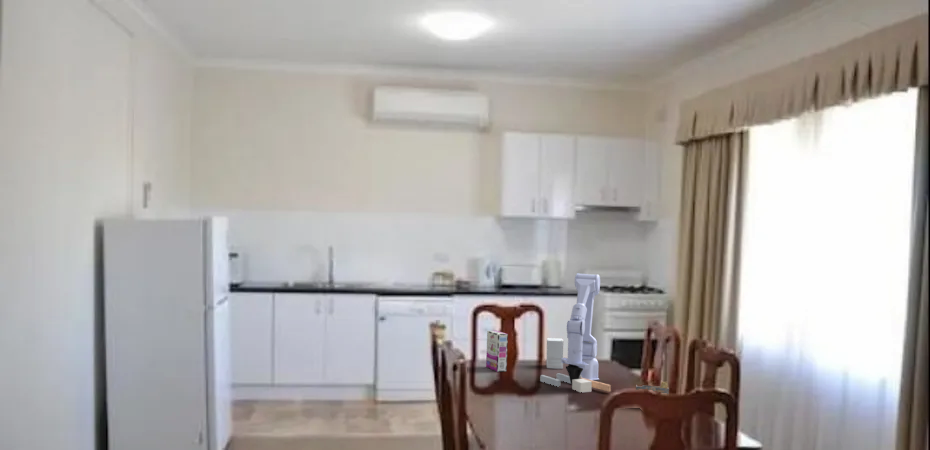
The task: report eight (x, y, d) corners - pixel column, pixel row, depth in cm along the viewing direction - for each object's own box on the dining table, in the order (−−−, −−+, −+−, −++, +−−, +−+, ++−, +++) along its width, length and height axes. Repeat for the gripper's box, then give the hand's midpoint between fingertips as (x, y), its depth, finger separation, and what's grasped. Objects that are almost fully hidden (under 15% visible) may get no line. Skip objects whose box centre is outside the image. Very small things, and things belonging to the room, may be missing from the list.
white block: (582, 388, 296) (583, 378, 296) (591, 392, 291) (591, 381, 291) (572, 389, 294) (572, 379, 294) (580, 393, 289) (581, 382, 289)
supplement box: (562, 365, 339) (563, 338, 339) (562, 369, 332) (563, 340, 332) (546, 365, 340) (546, 337, 340) (546, 368, 333) (547, 340, 332)
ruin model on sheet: (667, 407, 271) (668, 381, 271) (668, 410, 268) (669, 382, 268) (635, 405, 273) (636, 379, 273) (635, 407, 270) (636, 380, 270)
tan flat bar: (577, 384, 301) (577, 375, 301) (579, 383, 302) (579, 374, 302) (608, 393, 288) (608, 383, 288) (610, 392, 289) (611, 383, 289)
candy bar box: (507, 371, 323) (508, 333, 323) (497, 372, 321) (498, 334, 321) (495, 366, 333) (496, 329, 333) (485, 367, 331) (486, 330, 331)
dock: (559, 378, 312) (559, 373, 312) (576, 384, 302) (576, 378, 302) (540, 381, 306) (540, 375, 306) (557, 386, 297) (557, 380, 297)
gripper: (555, 347, 300) (554, 381, 300) (579, 354, 288) (578, 389, 288) (568, 346, 304) (567, 379, 304) (593, 352, 292) (592, 387, 292)
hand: (574, 384), depth 296 cm, fingers closed
